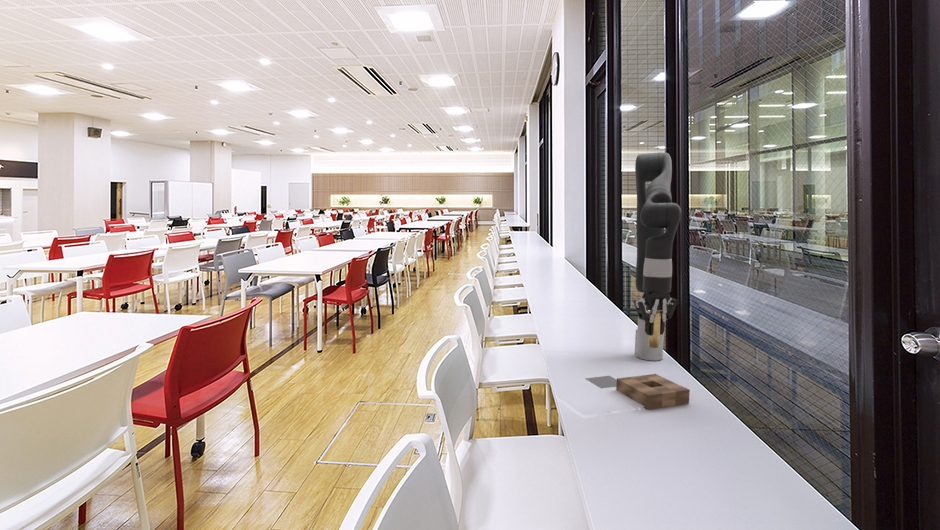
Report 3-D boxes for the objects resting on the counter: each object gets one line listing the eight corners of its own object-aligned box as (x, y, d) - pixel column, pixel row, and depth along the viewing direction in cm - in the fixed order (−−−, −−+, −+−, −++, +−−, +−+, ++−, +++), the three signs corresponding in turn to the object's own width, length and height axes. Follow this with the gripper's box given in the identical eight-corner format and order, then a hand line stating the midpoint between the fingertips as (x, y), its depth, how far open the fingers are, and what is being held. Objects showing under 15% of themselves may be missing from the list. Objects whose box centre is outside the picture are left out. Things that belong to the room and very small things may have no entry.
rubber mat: (584, 379, 155) (584, 378, 155) (609, 377, 158) (609, 375, 158) (601, 389, 146) (601, 388, 146) (626, 386, 149) (626, 385, 149)
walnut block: (616, 391, 145) (616, 378, 145) (654, 386, 150) (655, 373, 149) (647, 409, 132) (648, 395, 131) (688, 403, 136) (689, 389, 136)
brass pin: (645, 345, 140) (647, 311, 139) (654, 344, 141) (656, 310, 140) (652, 348, 137) (654, 313, 136) (661, 347, 138) (663, 312, 137)
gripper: (668, 272, 143) (665, 329, 144) (628, 273, 138) (625, 333, 140) (687, 275, 136) (683, 335, 137) (645, 277, 131) (642, 339, 133)
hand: (654, 334), depth 139 cm, fingers closed on brass pin, 3 cm apart
